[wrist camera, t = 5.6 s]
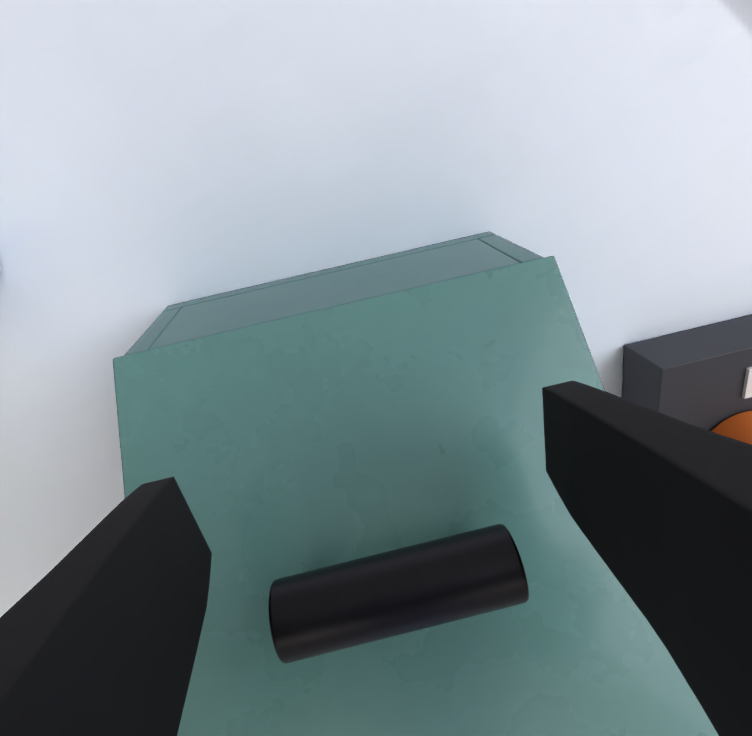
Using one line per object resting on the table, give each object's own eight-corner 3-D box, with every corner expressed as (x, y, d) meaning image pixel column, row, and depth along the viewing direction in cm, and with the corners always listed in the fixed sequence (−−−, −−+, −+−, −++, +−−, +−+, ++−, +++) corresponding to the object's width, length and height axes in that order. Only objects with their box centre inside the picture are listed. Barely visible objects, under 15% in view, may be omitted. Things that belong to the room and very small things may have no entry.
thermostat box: (758, 478, 25) (805, 513, 23) (612, 515, 25) (643, 553, 23) (794, 303, 21) (856, 324, 19) (617, 346, 21) (657, 372, 18)
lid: (722, 735, 10) (891, 858, 7) (172, 880, 10) (52, 1088, 7) (547, 265, 14) (602, 182, 10) (123, 364, 13) (24, 314, 10)
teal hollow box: (511, 467, 23) (556, 539, 19) (260, 528, 23) (249, 616, 18) (490, 231, 18) (545, 257, 14) (167, 305, 18) (122, 355, 13)
